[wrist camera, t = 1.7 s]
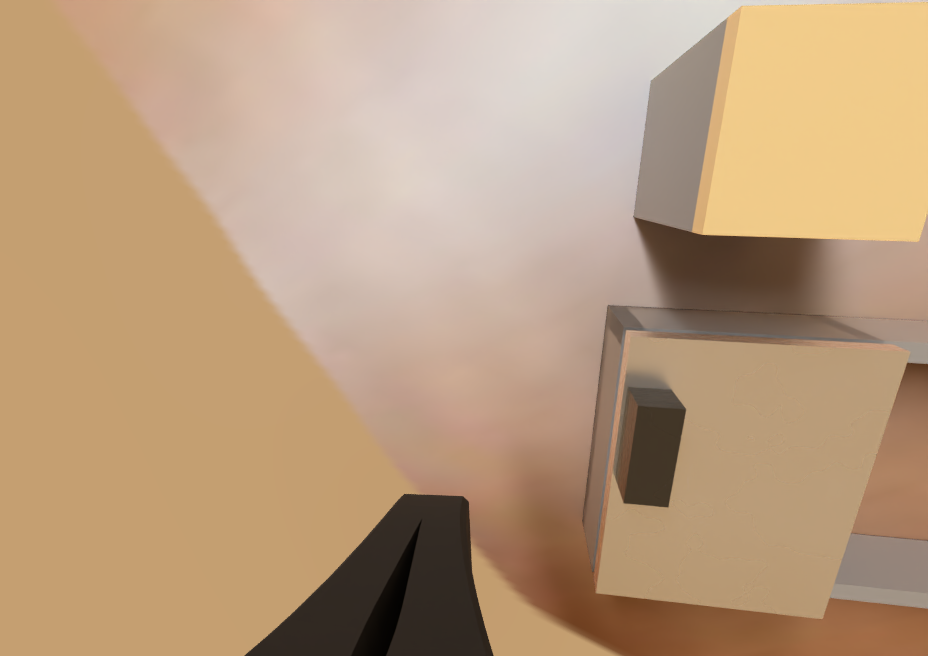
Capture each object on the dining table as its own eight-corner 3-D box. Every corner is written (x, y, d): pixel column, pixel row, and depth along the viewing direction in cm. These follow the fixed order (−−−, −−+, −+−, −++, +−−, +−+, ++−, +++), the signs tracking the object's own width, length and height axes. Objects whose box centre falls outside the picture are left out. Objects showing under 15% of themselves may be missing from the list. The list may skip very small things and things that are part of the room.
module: (792, 80, 13) (994, 0, 8) (763, 220, 15) (918, 241, 9) (650, 81, 14) (741, 6, 8) (633, 217, 15) (702, 234, 9)
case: (1119, 330, 14) (1245, 360, 12) (1010, 562, 17) (1095, 626, 14) (607, 305, 16) (623, 326, 13) (582, 520, 18) (591, 571, 16)
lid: (892, 344, 12) (953, 369, 11) (810, 602, 15) (847, 655, 13) (626, 330, 13) (641, 351, 11) (593, 578, 16) (602, 626, 14)
